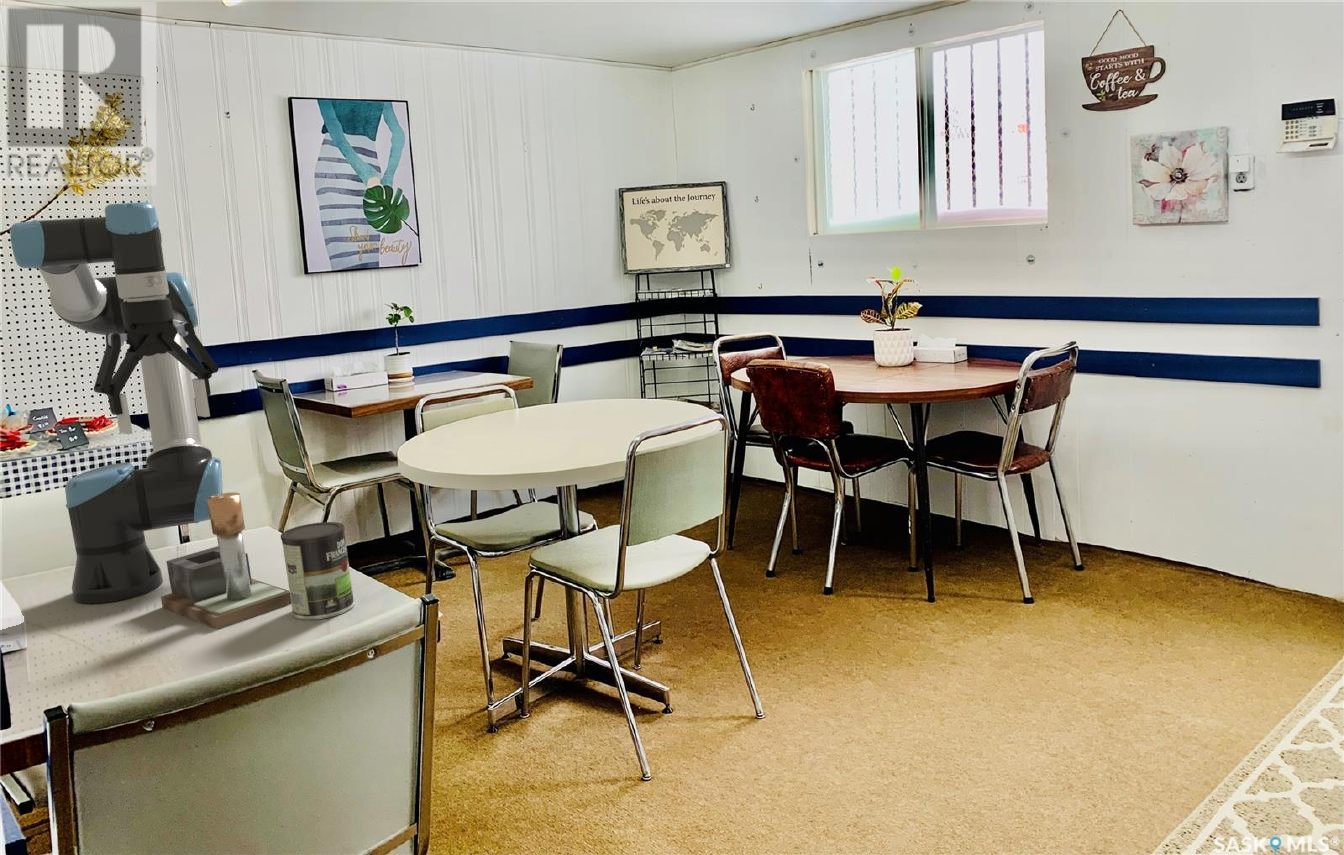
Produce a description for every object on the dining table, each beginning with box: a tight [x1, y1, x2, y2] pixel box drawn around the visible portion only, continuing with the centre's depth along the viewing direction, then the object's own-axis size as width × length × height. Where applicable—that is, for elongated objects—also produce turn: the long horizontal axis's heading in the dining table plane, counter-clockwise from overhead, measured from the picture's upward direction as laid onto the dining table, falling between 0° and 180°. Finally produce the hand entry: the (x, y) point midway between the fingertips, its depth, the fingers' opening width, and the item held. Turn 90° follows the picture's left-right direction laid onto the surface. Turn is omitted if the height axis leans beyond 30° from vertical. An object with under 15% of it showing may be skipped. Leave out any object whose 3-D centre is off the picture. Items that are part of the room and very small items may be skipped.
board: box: [160, 545, 292, 630], centre depth 189 cm, size 20×14×8 cm
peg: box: [207, 491, 252, 601], centre depth 185 cm, size 5×5×18 cm
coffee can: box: [280, 521, 355, 621], centre depth 183 cm, size 10×10×14 cm
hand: (166, 424), depth 182 cm, fingers open, 13 cm apart
